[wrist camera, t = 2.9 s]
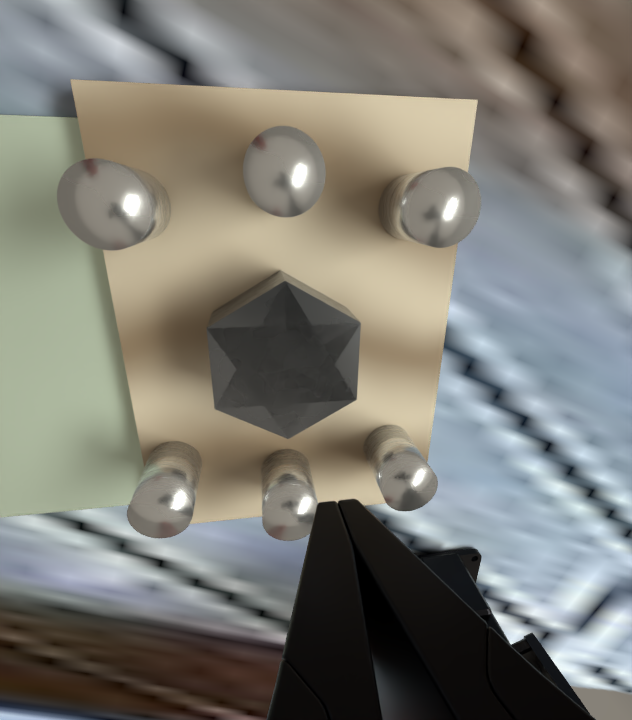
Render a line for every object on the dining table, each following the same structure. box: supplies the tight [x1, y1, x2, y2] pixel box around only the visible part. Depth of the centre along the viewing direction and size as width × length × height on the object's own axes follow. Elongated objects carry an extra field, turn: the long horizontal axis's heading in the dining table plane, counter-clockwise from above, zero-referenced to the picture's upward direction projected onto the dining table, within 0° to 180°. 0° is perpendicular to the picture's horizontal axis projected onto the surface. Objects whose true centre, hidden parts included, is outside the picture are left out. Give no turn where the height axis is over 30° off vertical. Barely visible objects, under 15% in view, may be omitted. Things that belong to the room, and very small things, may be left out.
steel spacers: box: [57, 126, 481, 541], centre depth 16 cm, size 17×14×4 cm
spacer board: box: [70, 79, 478, 524], centre depth 19 cm, size 20×15×1 cm
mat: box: [0, 115, 144, 517], centre depth 17 cm, size 18×10×1 cm, turn 179°
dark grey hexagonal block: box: [206, 270, 361, 439], centre depth 17 cm, size 7×6×2 cm
